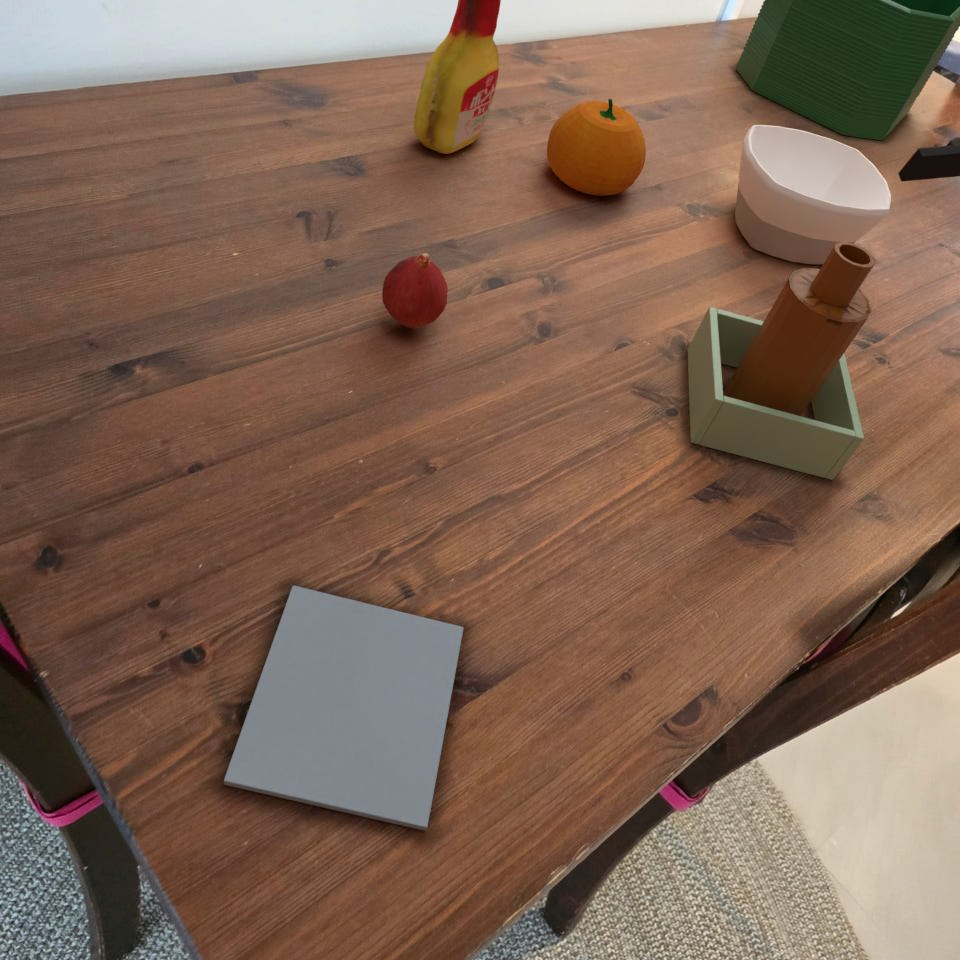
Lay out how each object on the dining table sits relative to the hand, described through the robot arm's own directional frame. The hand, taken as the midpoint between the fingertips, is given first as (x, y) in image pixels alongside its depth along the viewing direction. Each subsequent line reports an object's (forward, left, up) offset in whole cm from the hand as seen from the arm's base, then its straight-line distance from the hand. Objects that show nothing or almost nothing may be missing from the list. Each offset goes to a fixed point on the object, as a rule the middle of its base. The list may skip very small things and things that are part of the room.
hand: (941, 243), depth 62 cm
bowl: (+42, -4, -24) cm, 49 cm away
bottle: (+42, +38, -24) cm, 62 cm away
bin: (+7, +2, -24) cm, 25 cm away
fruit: (+42, +21, -24) cm, 53 cm away
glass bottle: (+7, +2, -24) cm, 25 cm away
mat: (-32, +32, -24) cm, 51 cm away
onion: (+6, +36, -24) cm, 44 cm away
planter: (+92, -16, -24) cm, 96 cm away
